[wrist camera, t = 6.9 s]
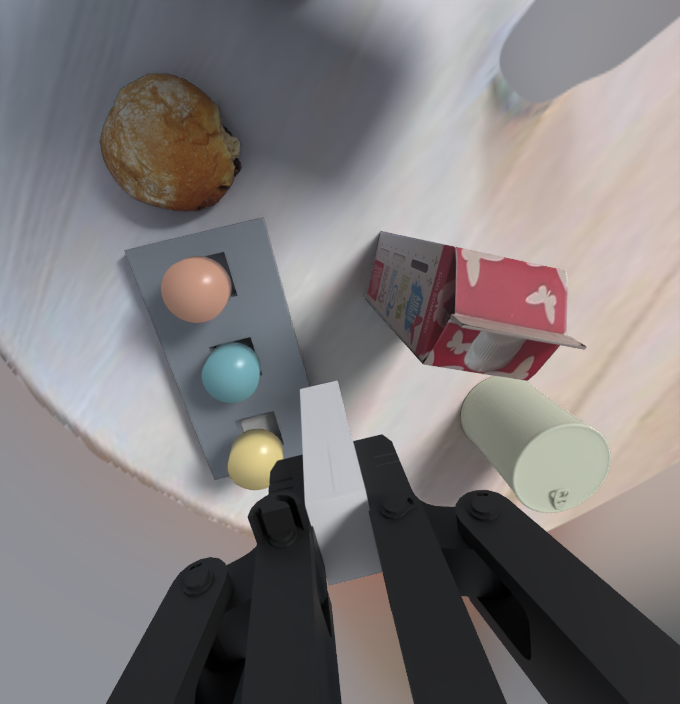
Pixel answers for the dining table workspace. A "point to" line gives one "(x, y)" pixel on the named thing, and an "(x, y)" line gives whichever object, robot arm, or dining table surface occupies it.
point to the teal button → (231, 372)
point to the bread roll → (169, 144)
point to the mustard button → (254, 458)
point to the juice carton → (470, 306)
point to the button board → (229, 336)
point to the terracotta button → (196, 289)
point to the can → (535, 444)
